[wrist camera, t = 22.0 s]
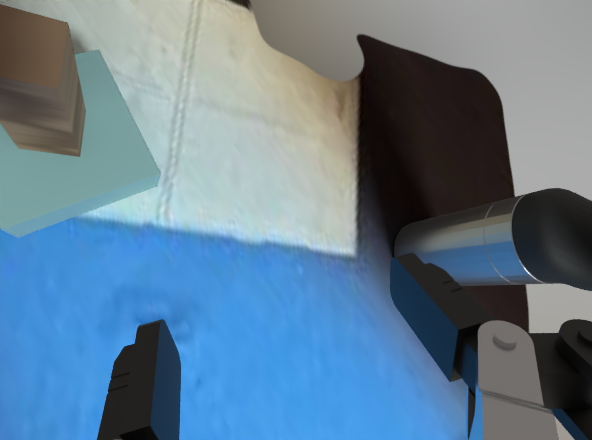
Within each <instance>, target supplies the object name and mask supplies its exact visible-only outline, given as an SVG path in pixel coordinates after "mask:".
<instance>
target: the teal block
mask: <svg viewBox="0 0 592 440" xmlns="http://www.w3.org/2000/svg"><path fill="white" fill-rule="evenodd" d="M74 55H75V60H76V65H77V70H78V74H79V79H80V84H81V89H82V94H83V99H84V104H85V109H86V115H85V122H84V130H83V138H82V146H81V154H80V157H76V156H69V155H61V154H54V153H47V152H40V151H32V150H25V149H19V148H18V147H17V146H16V144H15V143H14V142H13V140H12V139H11V137H10V136H9V135H8V133H7V132H6V131H5V129H4V128H3V126H2V125H1V124H0V228H1V230H3V231H5V232H7V233H9V234H11V235H13V236H15V237H17V238H18V237H21V236H24V235H26V234H29V233H32V232H35V231H37V230H40V229H43V228H45V227H48V226H51V225H53V224H56V223H59V222H62V221H64V220H67V219H70V218H72V217H75V216H78V215H81V214H83V213H86V212H89V211H91V210H94V209H97V208H99V207H102V206H105V205H108V204H110V203H113V202H116V201H118V200H121V199H124V198H127V197H129V196H132V195H135V194H137V193H140V192H143V191H145V190H148V189H151V188H154V187H156V186H158V182H159V178H160V174H161V173H160V171H159V169H158V167H157V165H156V163H155V161H154V159H153V157H152V155H151V153H150V151H149V149H148V147H147V145H146V143H145V141H144V139H143V137H142V135H141V133H140V131H139V129H138V127H137V125H136V123H135V121H134V119H133V117H132V115H131V113H130V111H129V109H128V107H127V105H126V103H125V101H124V99H123V97H122V95H121V93H120V91H119V89H118V87H117V85H116V83H115V81H114V79H113V77H112V75H111V73H110V71H109V69H108V67H107V65H106V63H105V61H104V59H103V57H102V55H101V53H100V51H99V50H95V51H89V52H84V53H78V54H74Z"/></svg>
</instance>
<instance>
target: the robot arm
mask: <svg viewBox="0 0 592 440" xmlns="http://www.w3.org/2000/svg"><path fill="white" fill-rule="evenodd" d="M549 283H550V284H552V283H561V284H567V285H570V286H573V287H576V288H580V289H584V290H588V291H592V201H590V200H588V199H586V198H584V197H582V196H580V195H578V194H576V193H573V192H571V191H569V190H565V189H560V188H552V189H545V190H541V191H537V192H533V193H529V194H525V195H521V196H517V197H513V198H509V199H505V200H501V201H498V202H494V203H490V204H486V205H482V206H478V207H474V208H470V209H466V210H462V211H458V212H454V213H450V214H446V215H442V216H438V217H434V218H430V219H426V220H422V221H418V222H414V223H410V224H408V225H406V226H404V227H403V228H402V229H401V230H400V231H399V233H398V234H397V237H396V239H395V244H394V258H392V259H391V272H390V292H391V297H392V300H393V302H394V304H395V306H396V308H397V309H398V310H399V312H400V313H401V315H402V316H403V317H404V319H405V320H406V322H407V323H408V324H409V326H410V327H411V329H412V330H413V331H414V333H415V334H416V335H417V337H418V338H419V340H420V341H421V342H422V344H423V345H424V347H425V348H426V349H427V351H428V352H429V354H430V355H431V356H432V358H433V359H434V361H435V362H436V363H437V365H438V366H439V367H440V369H441V370H442V372H443V373H444V374H445V376H446V377H447V379H448V380H449V381H450V382H452V381H455V380H458V379H461V378H462V379H463V380H464V381H465V383H466V384H467V390H466V438H465V440H559V439H558V434H557V429H556V423H555V418H554V416H555V417H556V418H557V419H558V420H559V422H560V423H561V424H562V425H563V426H564V427H565V429H566V430H567V431H568V432H569V433H570V435H571V436H572V437H573V438H574V439H575V440H592V322H591V321H587V320H580V319H573V320H569V321H566V322H564V323H563V324H562V325H561V328H560V330H559V333H526V332H525V331H524V330H523V329H521V328H520V327H518V326H516V325H514V324H511V323H509V322H505V321H496V320H495V319H494V318H493V317H492V316H491V315H490V314H489V313H488V312H487V311H486V310H485V309H484V308H483V307H482V306H481V305H480V304H479V303H478V302H477V301H476V300H475V299H474V298H473V297H472V296H471V295H470V294H469V293H468V292H467V291H466V290H465V289H464V290H463V288H462V286H477V285H518V284H549ZM180 389H181V362H180V357H179V353H178V350H177V347H176V345H175V343H174V341H173V338H172V336H171V334H170V331H169V329H168V327H167V325H166V322H165V321H164V320H163V319H161V320H158V321H154V322H150V323H147V324H143V325H139V326H138V328H137V333H136V339H135V344H132V345H128V346H125V347H124V348H123V349H122V351H121V352H120V354H119V356H118V357H117V359H116V360H115V362H114V366H113V370H112V375H111V381H110V384H109V388H108V394H107V397H106V402H105V406H104V411H103V415H102V420H101V424H100V429H99V433H98V437H97V440H179V427H180Z"/></svg>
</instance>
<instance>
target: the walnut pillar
mask: <svg viewBox="0 0 592 440" xmlns="http://www.w3.org/2000/svg"><path fill="white" fill-rule="evenodd" d="M85 115H86V109H85V104H84V99H83V94H82V89H81V84H80V79H79V74H78V70H77V65H76V60H75V55H74V50H73V45H72V40H71V35H70V30H69V25H68V23H67V22H63V21H59V20H56V19H52V18H48V17H44V16H41V15H37V14H33V13H30V12H26V11H22V10H19V9H15V8H11V7H8V6H4V5H0V124H1V125H2V126H3V128H4V129H5V131H6V132H7V133H8V135H9V136H10V137H11V139H12V140H13V142H14V143H15V144H16V146H17V147H18V148H19V149H25V150H32V151H40V152H47V153H54V154H61V155H69V156H76V157H80V154H81V146H82V138H83V130H84V122H85Z"/></svg>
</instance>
